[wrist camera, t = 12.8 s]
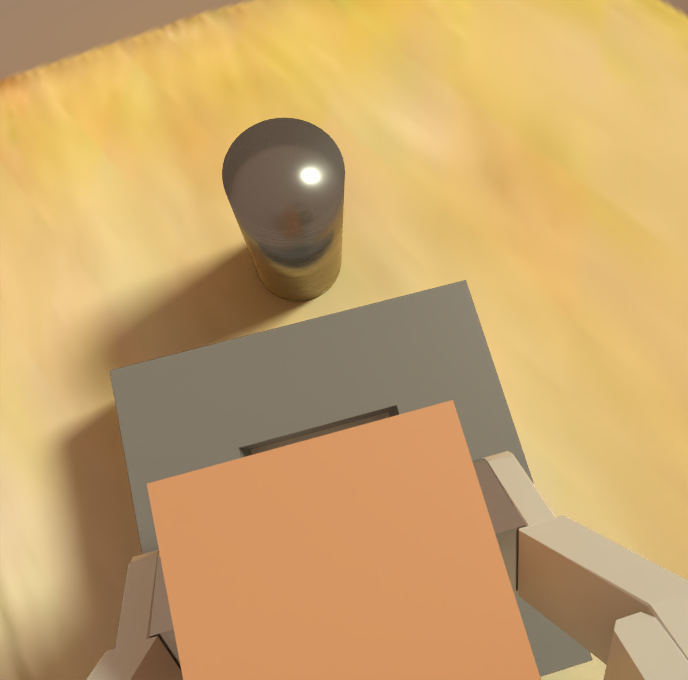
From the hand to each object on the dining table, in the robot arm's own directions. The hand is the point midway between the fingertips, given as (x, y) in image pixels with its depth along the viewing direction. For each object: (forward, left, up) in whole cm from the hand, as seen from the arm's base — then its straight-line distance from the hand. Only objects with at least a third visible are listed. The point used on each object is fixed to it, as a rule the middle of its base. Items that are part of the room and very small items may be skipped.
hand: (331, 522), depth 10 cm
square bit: (-1, 0, -4) cm, 4 cm away
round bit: (+10, -1, -13) cm, 17 cm away
